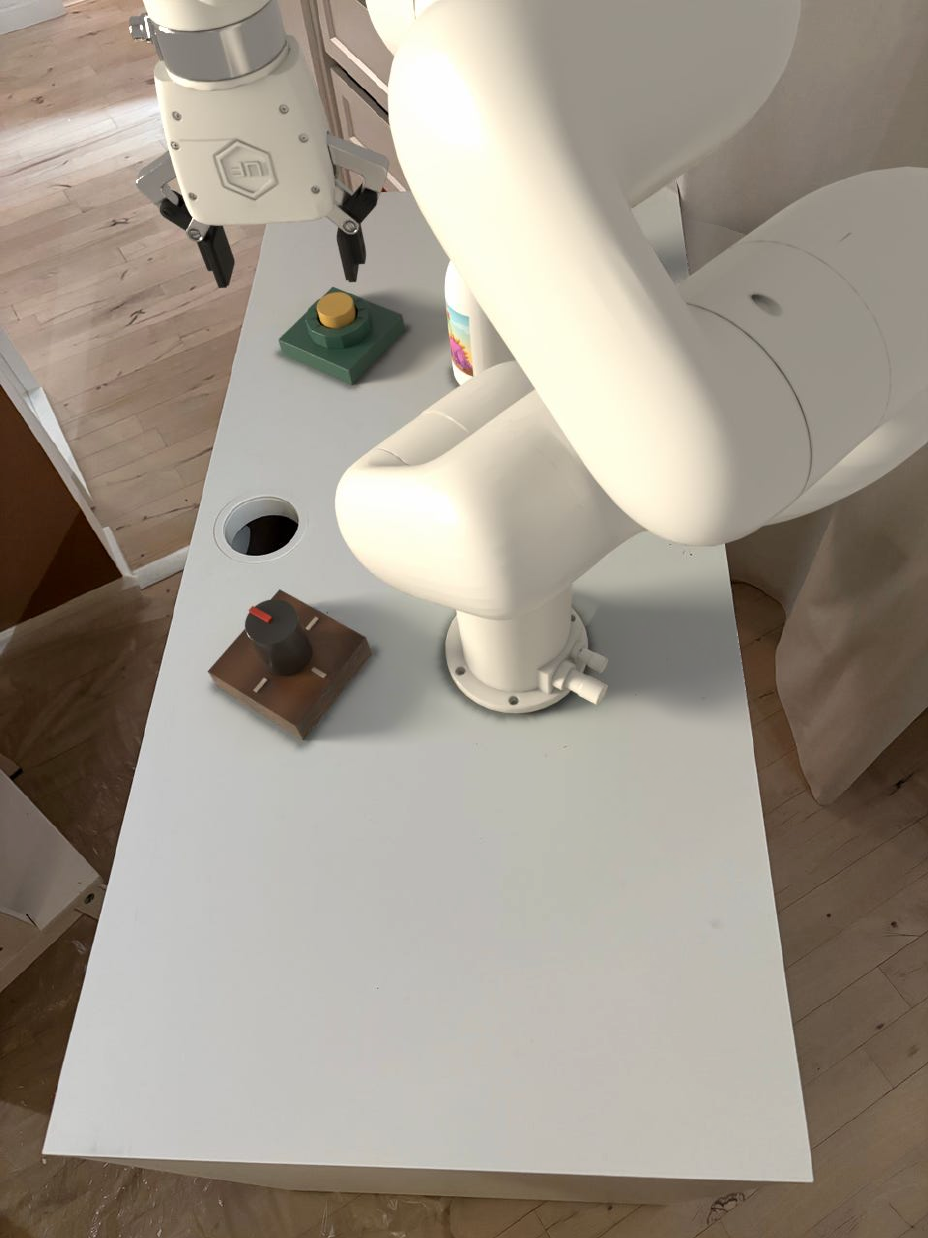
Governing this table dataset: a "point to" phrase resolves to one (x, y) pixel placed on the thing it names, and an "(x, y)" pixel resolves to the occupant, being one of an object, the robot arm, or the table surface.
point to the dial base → (304, 692)
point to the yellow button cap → (336, 310)
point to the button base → (343, 339)
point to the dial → (278, 637)
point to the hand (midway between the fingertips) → (290, 272)
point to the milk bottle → (470, 331)
